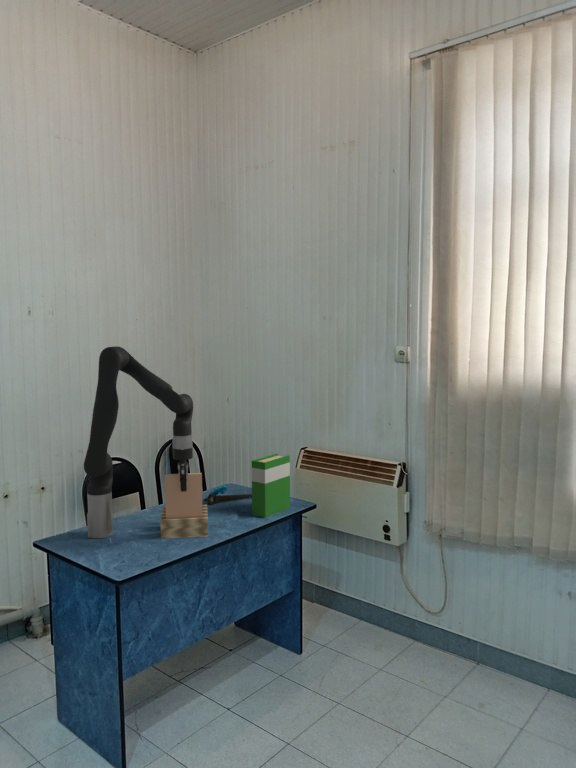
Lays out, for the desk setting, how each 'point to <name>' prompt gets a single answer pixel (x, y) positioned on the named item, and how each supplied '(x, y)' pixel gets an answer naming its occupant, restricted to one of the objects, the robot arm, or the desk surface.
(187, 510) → the tall sheet
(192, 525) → the rack
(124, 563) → the desk surface
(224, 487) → the gear
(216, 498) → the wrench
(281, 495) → the hardback book
